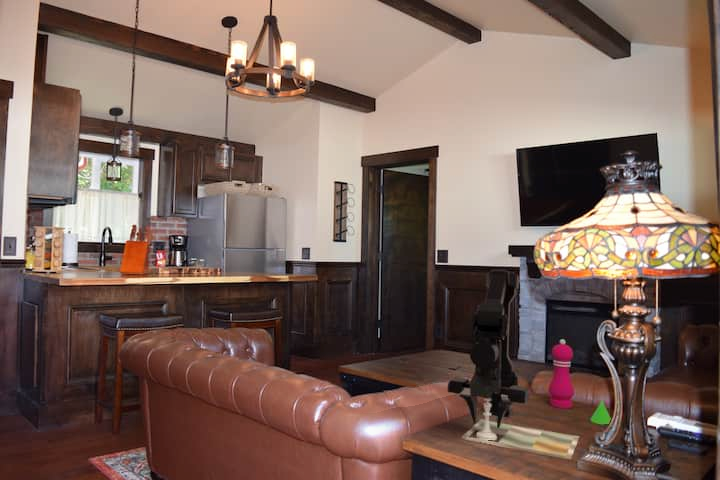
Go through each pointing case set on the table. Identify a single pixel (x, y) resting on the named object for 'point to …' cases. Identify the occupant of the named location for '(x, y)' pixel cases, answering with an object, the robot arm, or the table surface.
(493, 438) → the chess piece
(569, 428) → the table surface
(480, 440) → the game board
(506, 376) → the robot arm
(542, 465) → the table surface
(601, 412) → the gemstone
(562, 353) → the pepper mill
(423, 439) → the table surface
